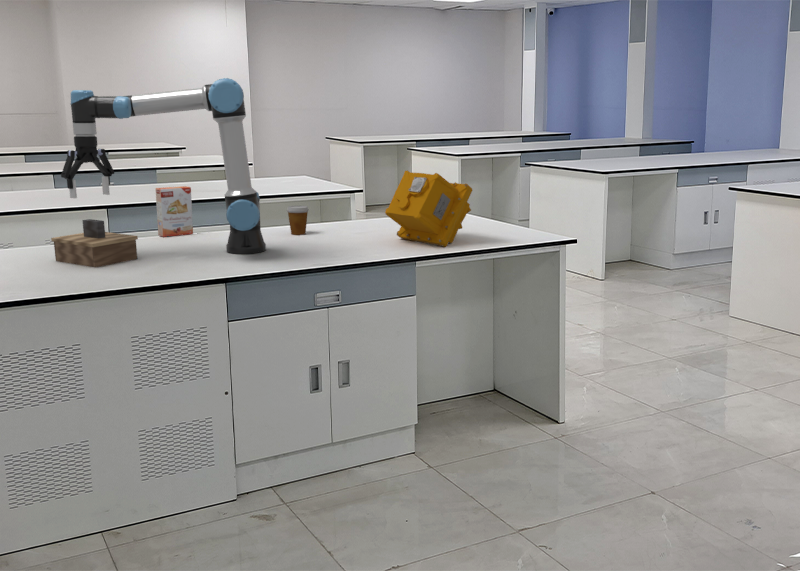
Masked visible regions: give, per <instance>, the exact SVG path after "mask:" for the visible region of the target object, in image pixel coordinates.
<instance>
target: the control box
mask: <svg viewBox="0 0 800 571" xmlns="http://www.w3.org/2000/svg"><path fill="white" fill-rule="evenodd" d="M472 192H473V188H472V187H471V186H470V185H469V184H468V183H458V182H456V181H455V182H449V181H448V180H446V179H445V178H444V177H443V176H441V175H440V174H439V173H437V172H435V173H434V174H432V173H423V172H411V171H409V170H405V171H404V172H403V175H402V178H401V179H400V181H399V184H398V186H397V189H395V192H394V194H393V196H392V199H391V201H390V203H389V206H388V207H386V208H385V212H384V213H385V215H386V216H387V217H388V218H390V219H391V220H392V221H393V222H395V223H396V224H397V225H399V226H400V227H399V230H398V231H397V232H396V236H397V237H399V238H401V240H406V241H407V240H408V241H412V242H416V243H423V244H429V245H433V246H439V247H445V248H446V247H448V244H453V242H454V240H455V239H456V236H457V234H458V232H459V230H462V229H463V225H462V223H463V222H464V219H465V217H466V216H467V214H468V213H469V212H471V211H472V209H471V207H470V206H471V204H470V203H469V202H468V201H469V199H470V196H471V195H472Z"/></svg>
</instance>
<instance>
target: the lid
mask: <svg viewBox="0 0 800 571" xmlns="http://www.w3.org/2000/svg"><path fill="white" fill-rule="evenodd" d="M81 222H82V231H83V232H79V233H73V234H68V235H62V236H55V237H51V238H50V239H51V242H53V243H54V242H60V243H67V244H74V245H81V246H88V247H98V246H103V245H109V244H114V243H120V242H125V241H131V240H136V241H137V240H138V237H139V236H138V235H133V234H125V233H117V232H110V231H109V232H108V231H106V227H105V221H104V220H99V219H92V218H87V219H82V221H81Z"/></svg>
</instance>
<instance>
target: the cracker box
mask: <svg viewBox="0 0 800 571" xmlns="http://www.w3.org/2000/svg"><path fill="white" fill-rule="evenodd" d="M155 203H156V204H155V205H156V218H157V232H158V233H157V234H158V236H160V237H162V238H168V237H167V236H169V237H177V236H178V237H179V236H185V235H193V234H194V223H193V204H192V203H193V202H192V187H190V186H188V185H187V186H186V185H184V186H168V187H167V186H166V187H155Z"/></svg>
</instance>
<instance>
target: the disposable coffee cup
mask: <svg viewBox="0 0 800 571" xmlns="http://www.w3.org/2000/svg"><path fill="white" fill-rule="evenodd" d="M286 211H287V215H288V222H289V223H288V224H289V227H290V234H291V235H293V236H302V235H306V234H307V233H306V232H307V224H308V222H307V220H308V212H309V208H308V206H307V205H290V206H289V205H288V206H287V208H286Z"/></svg>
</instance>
